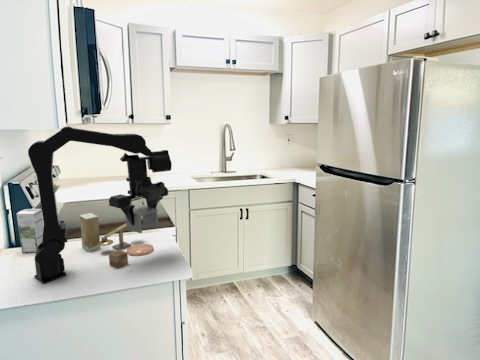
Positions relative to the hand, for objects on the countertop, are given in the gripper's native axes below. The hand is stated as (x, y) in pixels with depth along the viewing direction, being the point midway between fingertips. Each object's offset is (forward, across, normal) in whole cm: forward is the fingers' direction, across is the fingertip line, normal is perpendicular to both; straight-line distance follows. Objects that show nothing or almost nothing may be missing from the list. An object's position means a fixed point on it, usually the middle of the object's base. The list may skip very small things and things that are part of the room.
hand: (142, 221), depth 111 cm
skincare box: (+13, -6, +24) cm, 27 cm away
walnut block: (+13, -8, +4) cm, 15 cm away
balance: (+13, +1, +16) cm, 20 cm away
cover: (+2, 0, 0) cm, 2 cm away
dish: (+13, +3, +8) cm, 15 cm away
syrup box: (+12, -19, +38) cm, 44 cm away
